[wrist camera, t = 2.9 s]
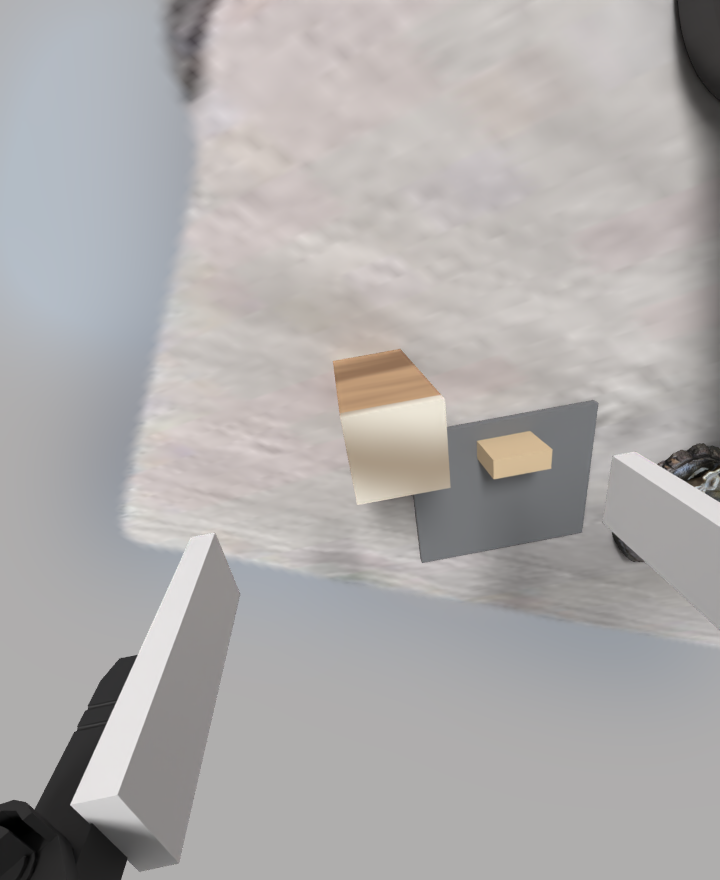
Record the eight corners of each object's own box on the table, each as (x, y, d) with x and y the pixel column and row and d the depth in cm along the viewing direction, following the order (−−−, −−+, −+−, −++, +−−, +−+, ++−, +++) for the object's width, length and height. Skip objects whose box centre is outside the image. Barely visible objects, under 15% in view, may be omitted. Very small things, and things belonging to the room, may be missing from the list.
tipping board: (406, 434, 28) (417, 457, 25) (593, 400, 28) (628, 418, 25) (420, 557, 33) (431, 590, 30) (577, 528, 33) (605, 557, 30)
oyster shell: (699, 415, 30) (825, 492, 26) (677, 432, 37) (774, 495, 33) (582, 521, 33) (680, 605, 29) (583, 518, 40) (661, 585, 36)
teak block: (333, 361, 25) (340, 418, 16) (400, 349, 25) (445, 399, 16) (344, 423, 27) (357, 505, 18) (407, 411, 27) (450, 487, 18)
